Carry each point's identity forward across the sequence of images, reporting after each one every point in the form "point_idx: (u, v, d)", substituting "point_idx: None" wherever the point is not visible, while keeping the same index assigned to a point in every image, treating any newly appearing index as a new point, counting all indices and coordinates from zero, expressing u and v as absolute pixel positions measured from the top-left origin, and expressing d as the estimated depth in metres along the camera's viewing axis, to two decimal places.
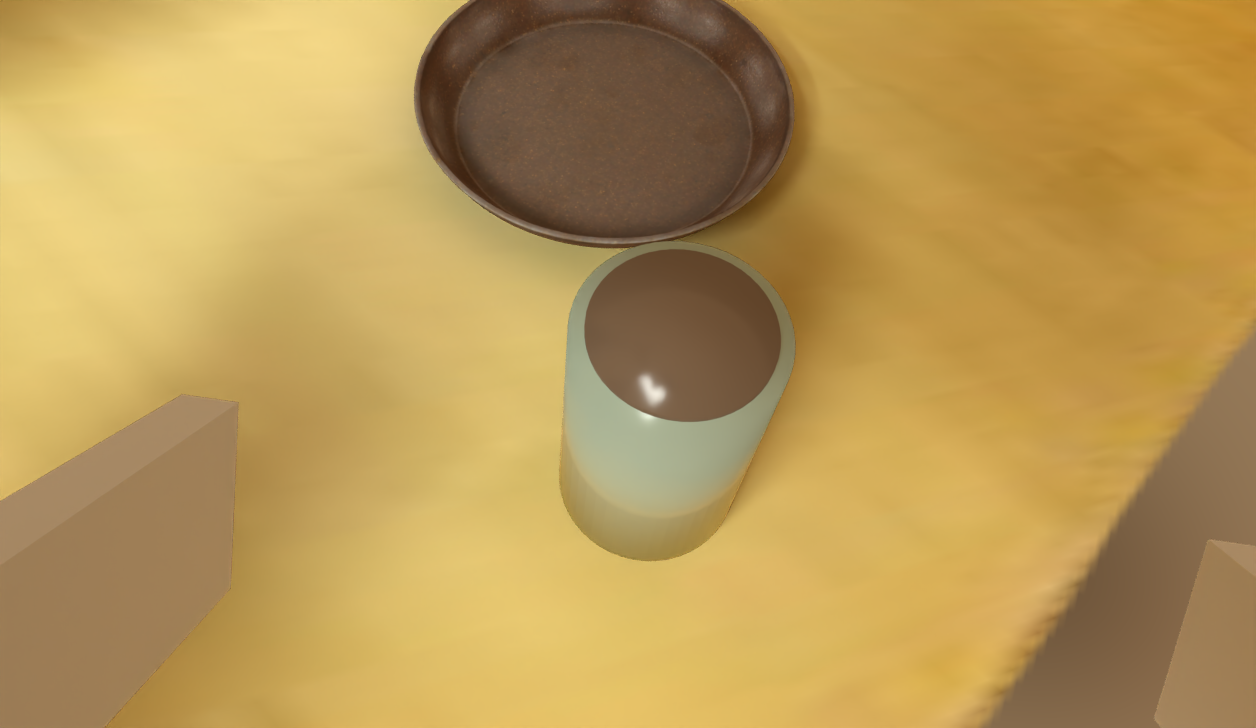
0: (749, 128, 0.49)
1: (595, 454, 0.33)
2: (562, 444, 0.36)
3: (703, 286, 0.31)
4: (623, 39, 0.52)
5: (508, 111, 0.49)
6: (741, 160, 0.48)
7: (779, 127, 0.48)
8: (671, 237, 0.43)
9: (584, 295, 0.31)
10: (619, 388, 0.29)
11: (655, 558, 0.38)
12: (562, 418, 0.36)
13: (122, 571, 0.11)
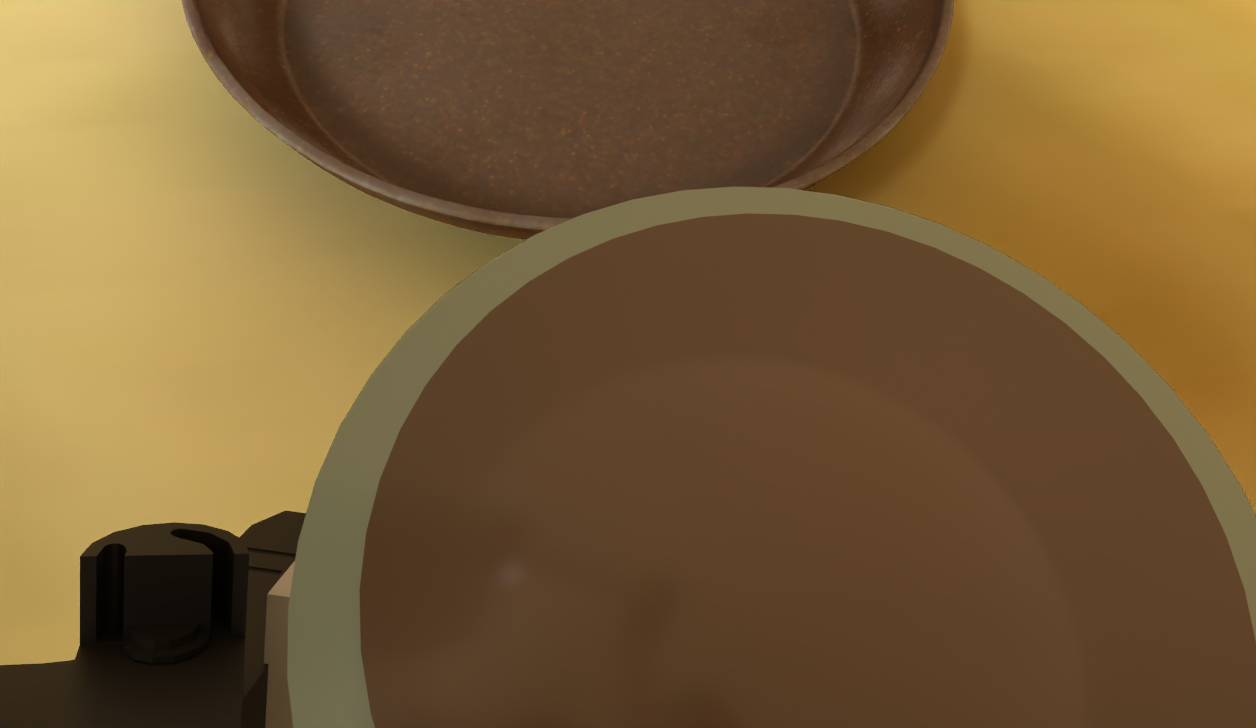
0: (853, 19, 0.26)
1: None
2: None
3: (882, 361, 0.08)
4: None
5: None
6: (842, 75, 0.25)
7: (921, 7, 0.24)
8: None
9: (389, 400, 0.07)
10: None
11: None
12: None
13: None
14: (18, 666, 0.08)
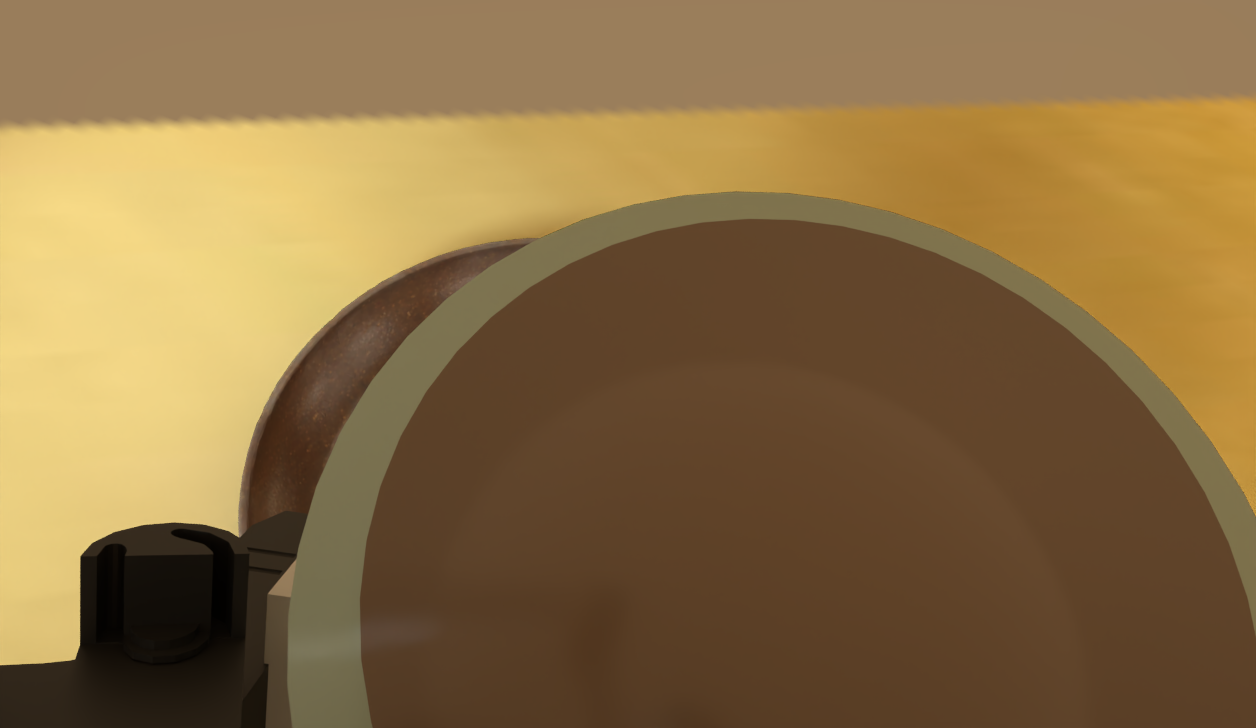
0: None
1: None
2: None
3: (883, 367, 0.08)
4: None
5: None
6: None
7: None
8: None
9: (390, 406, 0.07)
10: None
11: None
12: None
13: None
14: (19, 666, 0.08)
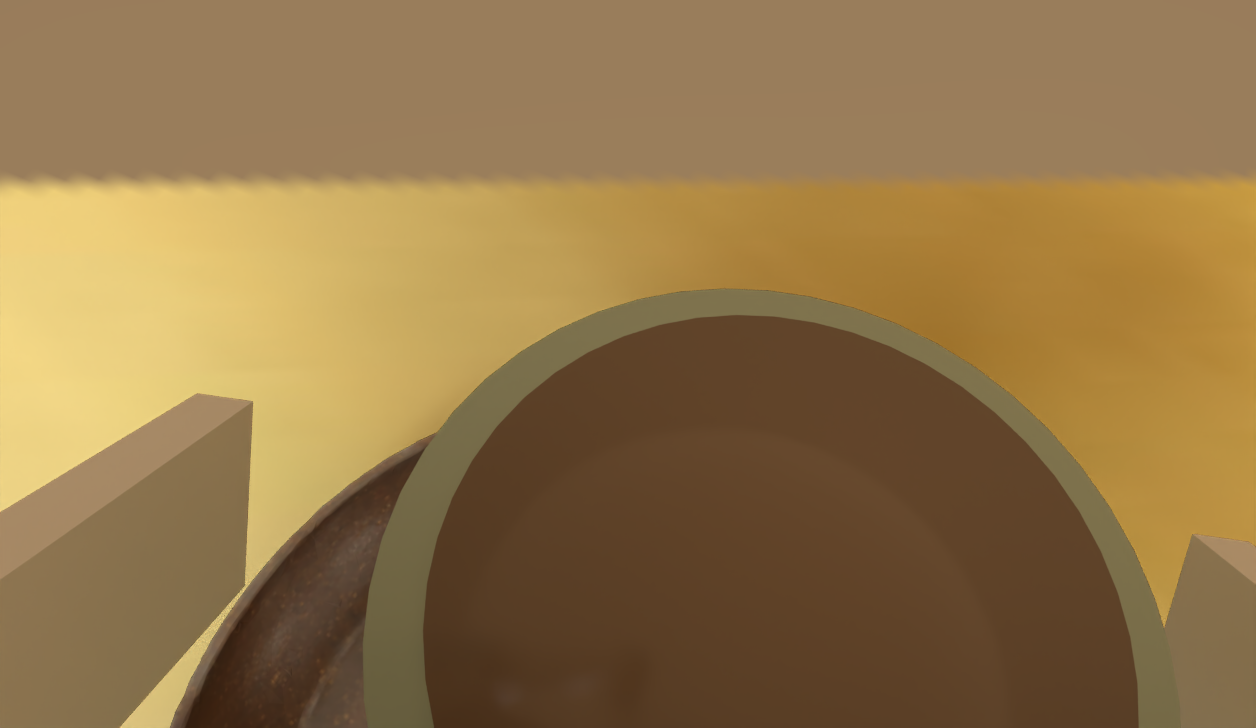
0: None
1: None
2: None
3: (844, 443, 0.09)
4: None
5: None
6: None
7: None
8: None
9: (441, 471, 0.09)
10: None
11: None
12: None
13: (141, 568, 0.11)
14: None
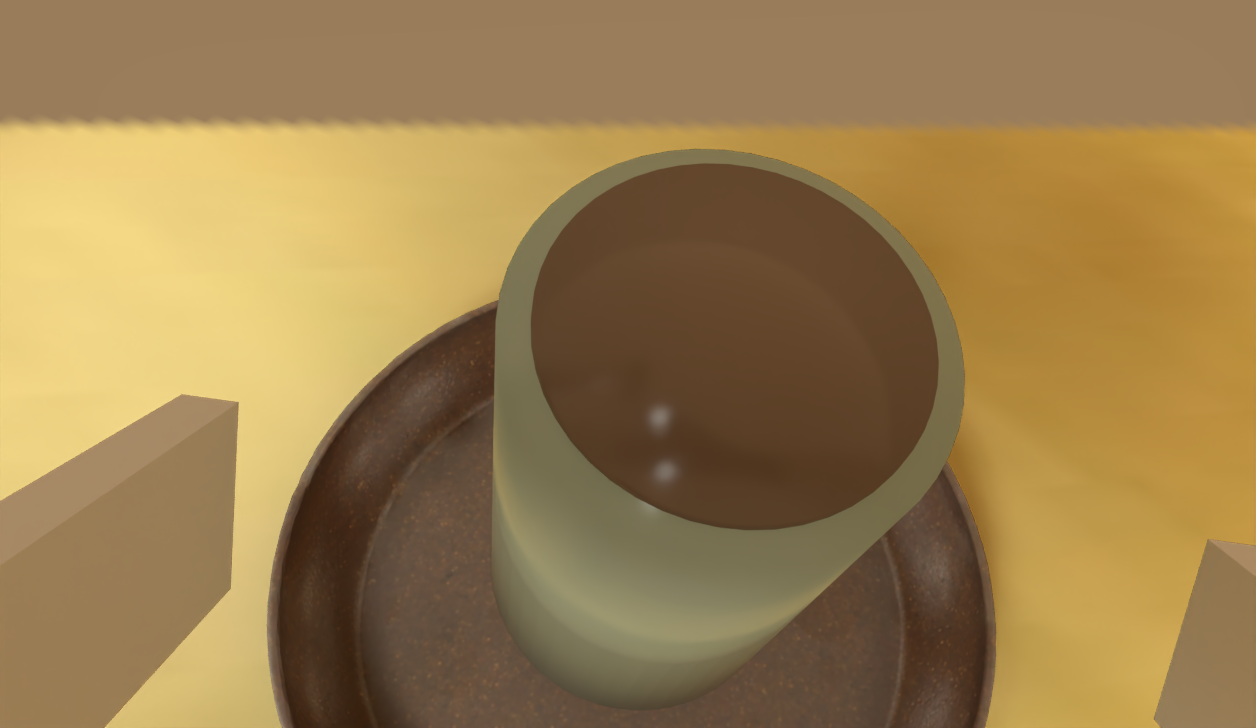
0: (897, 599, 0.27)
1: (555, 572, 0.17)
2: (493, 527, 0.20)
3: (772, 237, 0.16)
4: None
5: (458, 571, 0.27)
6: (887, 676, 0.26)
7: (963, 630, 0.25)
8: None
9: (530, 257, 0.15)
10: (610, 459, 0.13)
11: (657, 706, 0.23)
12: (492, 483, 0.20)
13: (122, 571, 0.11)
14: None
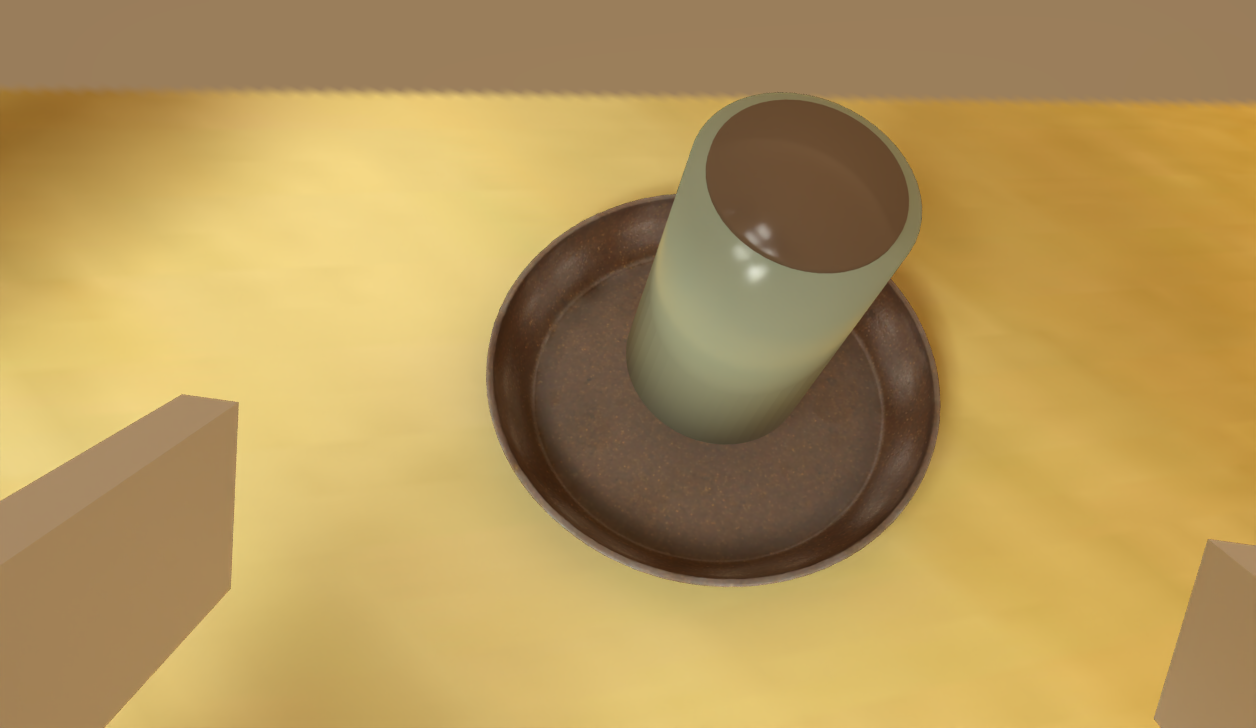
0: (880, 399, 0.42)
1: (717, 329, 0.31)
2: (650, 332, 0.34)
3: (815, 134, 0.30)
4: None
5: (595, 377, 0.41)
6: (872, 443, 0.40)
7: (920, 410, 0.40)
8: (799, 576, 0.35)
9: (697, 157, 0.29)
10: (765, 246, 0.28)
11: (747, 439, 0.37)
12: (650, 303, 0.34)
13: (123, 571, 0.11)
14: None
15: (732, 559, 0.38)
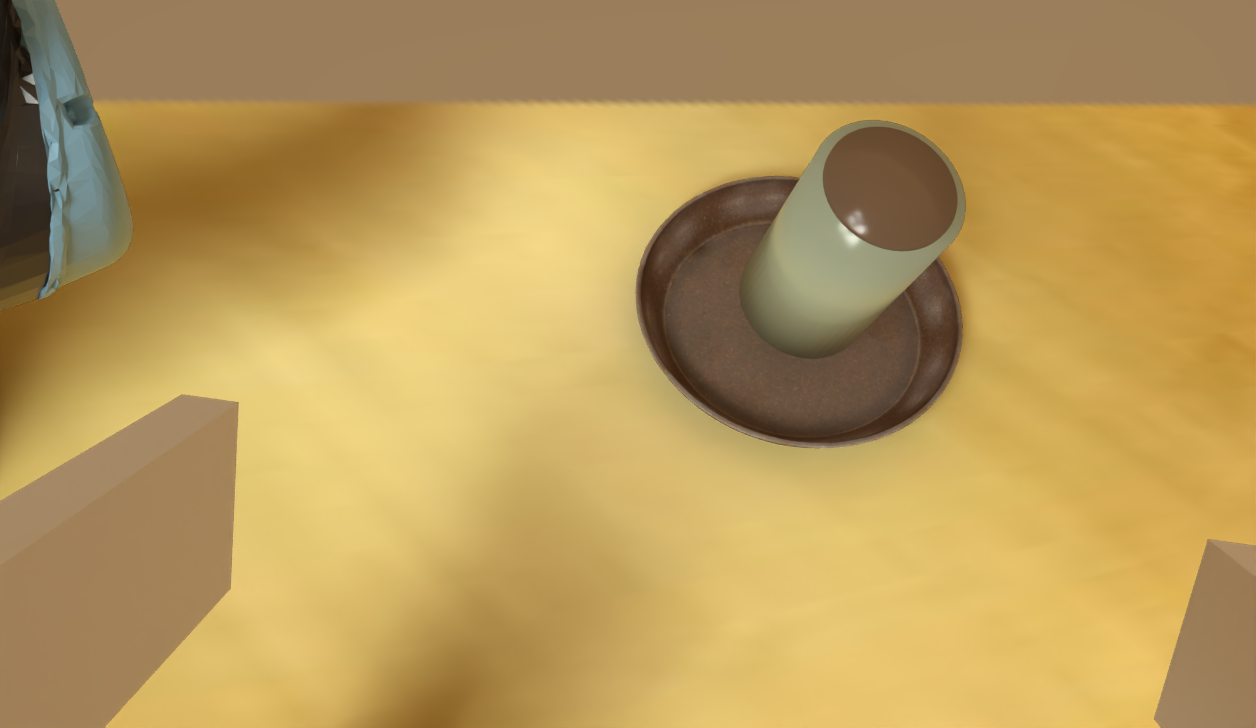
0: (916, 325, 0.57)
1: (852, 296, 0.45)
2: (784, 305, 0.49)
3: (879, 151, 0.44)
4: None
5: (708, 311, 0.56)
6: (912, 356, 0.56)
7: (948, 330, 0.55)
8: None
9: (820, 197, 0.43)
10: (890, 244, 0.42)
11: None
12: (781, 288, 0.48)
13: (122, 571, 0.11)
14: None
15: (817, 435, 0.53)
